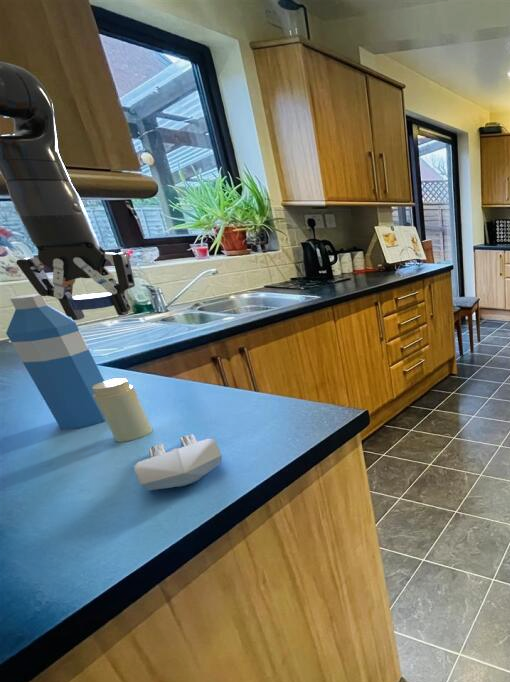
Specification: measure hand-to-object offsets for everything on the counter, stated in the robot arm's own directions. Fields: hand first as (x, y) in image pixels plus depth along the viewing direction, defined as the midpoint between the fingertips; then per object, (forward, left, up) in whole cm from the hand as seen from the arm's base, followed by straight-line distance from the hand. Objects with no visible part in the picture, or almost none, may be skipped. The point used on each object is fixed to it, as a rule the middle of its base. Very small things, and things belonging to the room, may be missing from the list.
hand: (101, 316), depth 71 cm
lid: (0, 0, +3) cm, 3 cm away
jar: (-1, -4, -22) cm, 22 cm away
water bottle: (-13, +8, -22) cm, 26 cm away
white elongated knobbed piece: (+12, -21, -22) cm, 33 cm away
